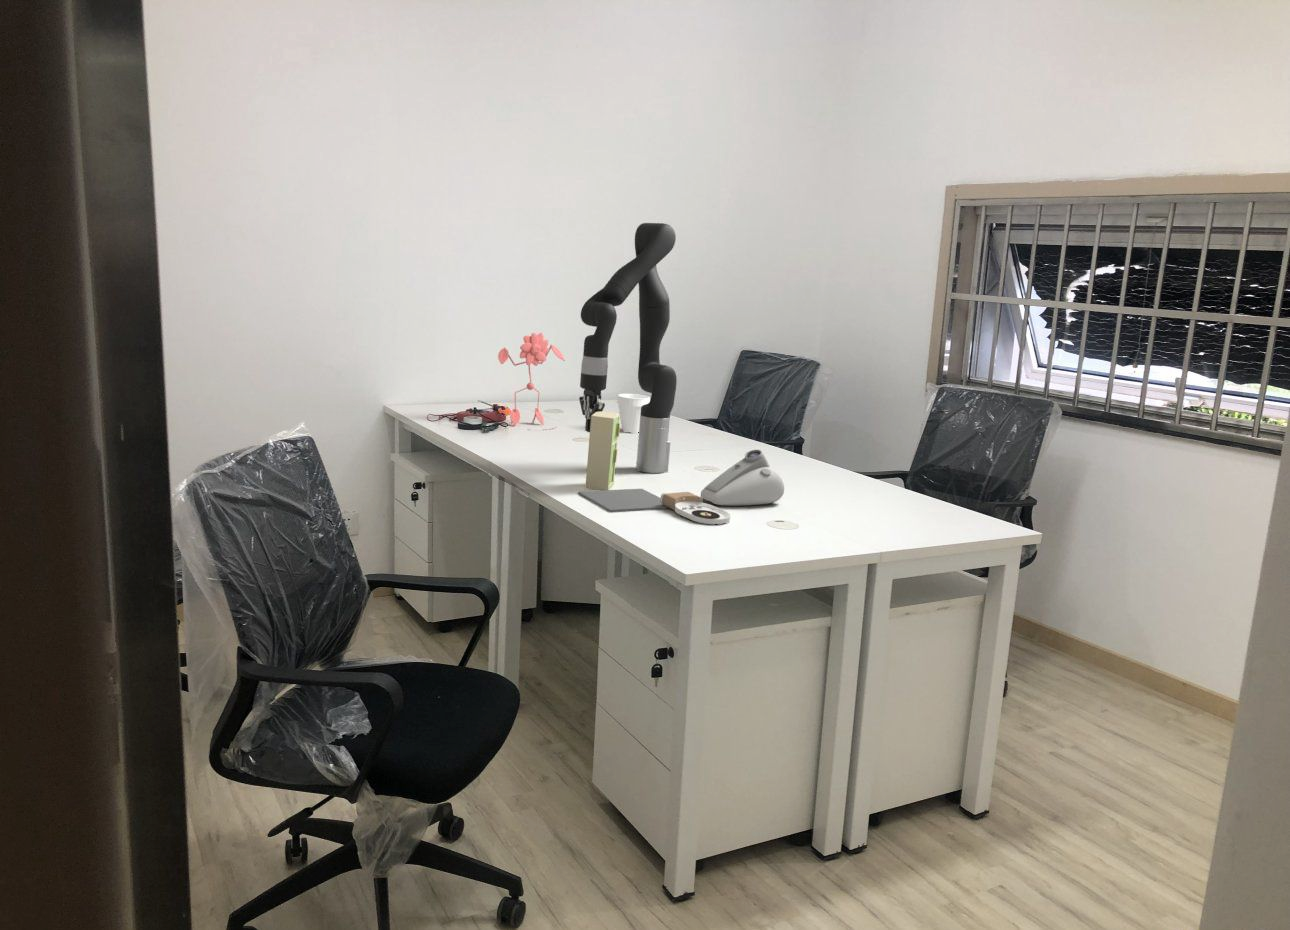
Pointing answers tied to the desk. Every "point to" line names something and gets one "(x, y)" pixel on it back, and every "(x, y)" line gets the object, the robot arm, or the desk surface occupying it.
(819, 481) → the desk surface
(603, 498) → the mat
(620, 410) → the cup
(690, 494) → the record player
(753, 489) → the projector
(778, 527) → the desk surface
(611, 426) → the toy refrigerator
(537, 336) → the figurine
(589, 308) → the robot arm
